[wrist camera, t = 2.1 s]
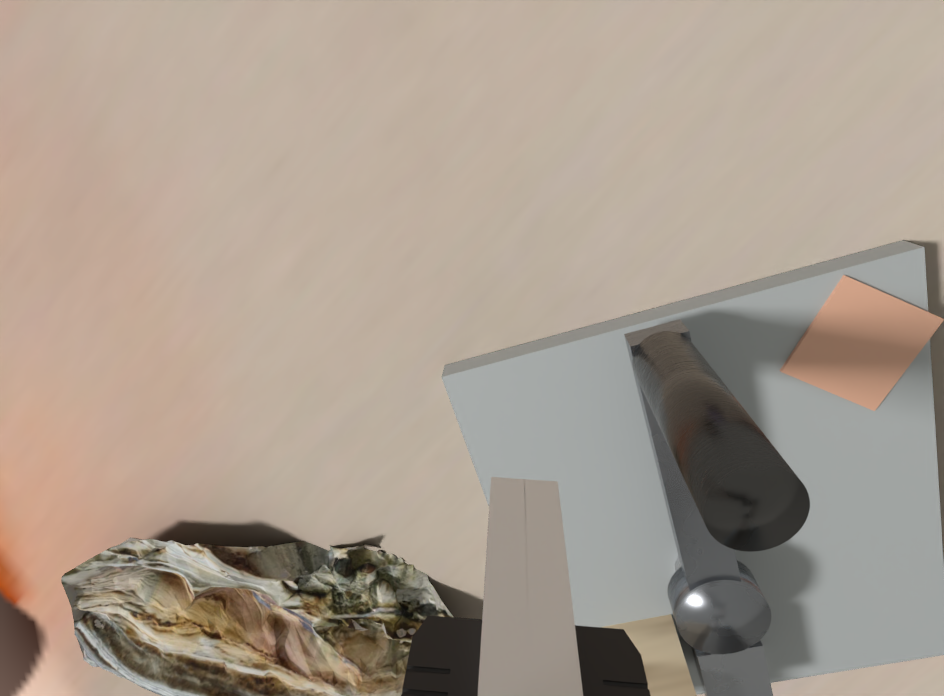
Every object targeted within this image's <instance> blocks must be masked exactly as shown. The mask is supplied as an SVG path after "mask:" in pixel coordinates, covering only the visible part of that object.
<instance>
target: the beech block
mask: <svg viewBox="0 0 944 696" xmlns="http://www.w3.org/2000/svg"><path fill="white" fill-rule="evenodd" d="M602 628H614V629H624V631H625V632H626V634H627V635H628V636H629V638H630V639H631V641H632V642H633V644H634V645H635V647H636V648H637V650H638V651H639V653H640V654H641V657H642V661H643V665H644V670H645V674H646V678H647V682H648V689H649V691H650V695H651V696H697V695H696V692H695V689H694V686H693V683H692V679H691V676H690V673H689V670H688V667H687V663H686V660H685V657H684V654H683V651H682V647H681V644H680V641H679V638H678V635H677V632H676V628H675V625H674V622H673V619H672V616H671V614H669V615H664V616H659V617H653V618H648V619H642V620H637V621H631V622H626V623H621V624H615V625H610V626H604V627H602Z"/></svg>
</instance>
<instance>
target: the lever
mask: <svg viewBox="0 0 944 696" xmlns="http://www.w3.org/2000/svg"><path fill="white" fill-rule="evenodd" d="M624 337H625V341H626V345H627V349H628V353H629V357H630V361H631V365H632V369H633V373H634V377H635V381H636V385H637V389H638V393H639V397H640V402H641V406H642V410H643V414H644V418H645V422H646V426H647V430H648V434H649V438H650V442H651V446H652V450H653V454H654V458H655V462H656V467H657V471H658V475H659V479H660V483H661V487H662V491H663V495H664V499H665V503H666V507H667V511H668V515H669V519H670V523H671V527H672V532H673V536H674V540H675V544H676V548H677V552H678V556H679V560H680V564H681V567H680V568H679V569H678V570H677V571H676V572H675V573H674V574H673V576H672V577H671V579H670V581H669V584H668V589H667V594H668V599H669V602H670V605H671V608H672V611H673V615H674V618H675V621H676V624H677V627H678V630H679V633H680V635H681V637H682V638H683V639H684V640H685V641H686V642H687V643H688V644H689V645H690V646H691V648H692V652H693V656H694V660H695V664H696V668H697V672H698V675H699V678H700V681H701V684H702V687H703V690H704V693H705V696H773V693H772V688H771V683H770V678H769V673H768V668H767V663H766V658H765V653H764V648H763V645H762V643H761V639H762V638H763V636H764V635H765V634H766V632H767V631H768V629H769V627H770V624H771V617H772V616H771V610H770V607H769V605H768V603H767V601H766V599H765V597H764V595H763V593H762V591H761V589H760V587H759V585H758V584H757V582H756V580H755V578H754V576H753V574H752V572H751V571H750V569H749V568H748V567H747V566H746V565H744V564H743V563H742V562H740V561H738V560H737V559H736V554H735V550H739V551H747V552H754V551H763V550H767V549H771V548H774V547H777V546H779V545H781V544H783V543H785V542H786V541H788V540H789V539H791V538H792V537H793V536H794V535H795V534H796V533H797V532H798V531H799V530H800V529H801V528H802V527H803V525H804V523H805V522H806V519H807V517H808V514H809V510H810V498H809V494H808V492H807V489H806V487H805V486H804V484H803V483H802V482H801V480H800V479H799V478H798V477H797V475H796V474H795V473H794V472H793V470H792V469H791V468H790V466H789V465H788V464H787V463H786V461H785V460H784V459H783V458H782V456H781V455H780V454H779V452H778V451H777V450H776V449H775V447H774V446H773V445H772V444H771V442H770V441H769V440H768V438H767V437H766V436H765V435H764V433H763V432H762V431H761V430H760V428H759V427H758V426H757V424H756V423H755V422H754V421H753V419H752V418H751V417H750V416H749V414H748V413H747V412H746V410H745V409H744V408H743V407H742V405H741V404H740V403H739V402H738V400H737V399H736V398H735V396H734V395H733V394H732V393H731V391H730V390H729V389H728V388H727V386H726V385H725V384H724V382H723V381H722V380H721V379H720V377H719V376H718V375H717V374H716V372H715V371H714V370H713V368H712V367H711V366H710V365H709V363H708V362H707V361H706V360H705V358H704V357H703V356H702V354H701V353H700V352H699V351H698V349H697V348H696V347H695V346H694V344H693V343H692V341H691V336H690V331H689V330H688V328H687V327H686V326H685V325H684V324H683V322H682V321H681V320H680V319H679V320H675V321H671V322H668V323H664V324H660V325H656V326H653V327H649V328H645V329H641V330H638V331H634V332H630V333H626V334H624Z"/></svg>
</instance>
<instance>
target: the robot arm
mask: <svg viewBox="0 0 944 696" xmlns="http://www.w3.org/2000/svg"><path fill="white" fill-rule="evenodd" d="M401 696H651V695H650V691H649V689H648V682H647V678H646V674H645V670H644V665H643V661H642V657H641V654H640V653H639V651H638V650H637V648H636V647H635V645H634V644H633V642H632V641H631V639H630V638H629V636H628V635H627V634H626V632H625V631H624V629H614V628H602V627H589V626H577V625H575V622H574V614H573V605H572V597H571V589H570V580H569V572H568V563H567V555H566V547H565V538H564V530H563V521H562V513H561V505H560V496H559V488H558V481H543V480H529V479H514V478H500V477H491V486H490V502H489V518H488V535H487V551H486V567H485V583H484V600H483V616H482V620H480V619H467V618H455V617H442V616H430V615H428V616H427V617H426V619H425V620H424V622H423V623H422V625H421V626H420V627H419V629H418V630H417V632H416V633H415V634H414V636H413V637H412V641H411V646H410V652H409V657H408V662H407V669H406V672H405V678H404V683H403V688H402V694H401Z"/></svg>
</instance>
